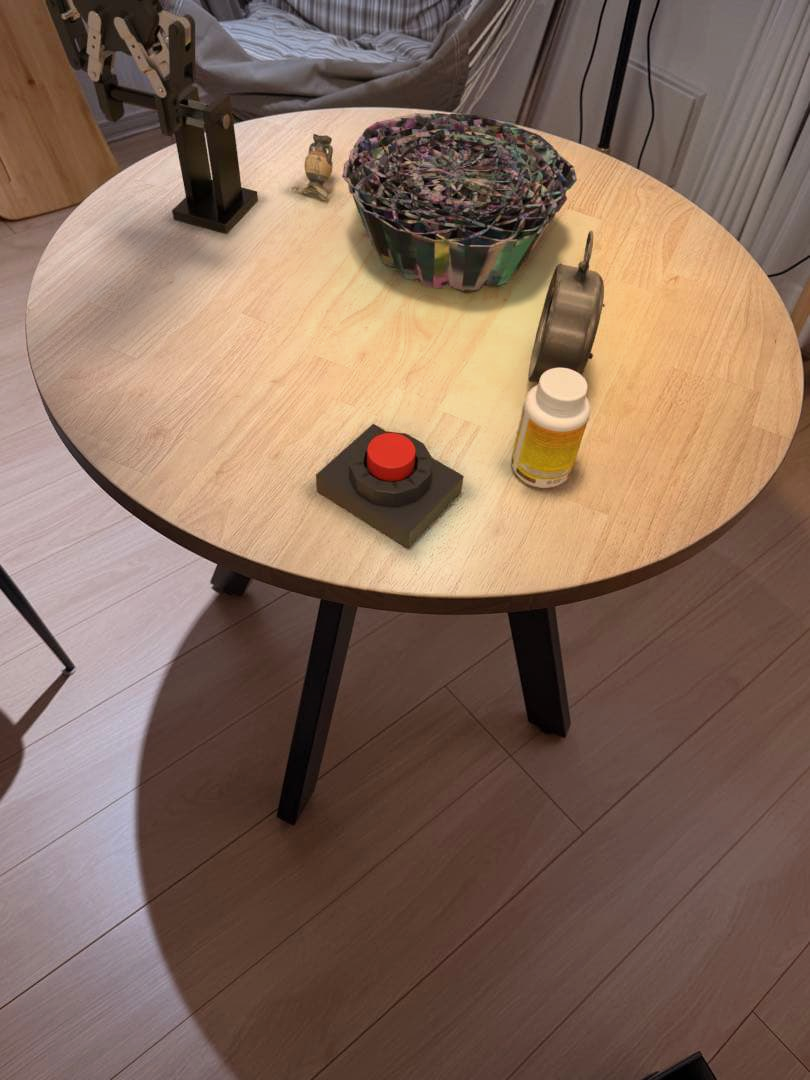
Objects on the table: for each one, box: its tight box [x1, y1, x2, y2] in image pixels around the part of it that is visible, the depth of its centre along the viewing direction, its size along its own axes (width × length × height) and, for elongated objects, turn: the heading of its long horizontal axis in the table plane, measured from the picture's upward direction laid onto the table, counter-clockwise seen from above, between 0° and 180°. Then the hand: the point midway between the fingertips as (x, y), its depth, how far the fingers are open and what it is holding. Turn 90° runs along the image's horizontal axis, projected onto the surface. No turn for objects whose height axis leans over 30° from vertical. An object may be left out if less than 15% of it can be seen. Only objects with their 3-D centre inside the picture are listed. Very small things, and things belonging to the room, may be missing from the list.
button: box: [367, 433, 416, 482], centre depth 66 cm, size 4×4×2 cm
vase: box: [290, 133, 334, 201], centre depth 96 cm, size 5×5×6 cm
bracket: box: [171, 85, 259, 235], centre depth 89 cm, size 8×7×13 cm
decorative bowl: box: [341, 112, 578, 294], centre depth 90 cm, size 26×28×10 cm
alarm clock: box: [527, 230, 606, 384], centre depth 73 cm, size 11×5×16 cm, turn 168°
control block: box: [315, 423, 465, 549], centre depth 68 cm, size 10×8×4 cm
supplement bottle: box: [511, 368, 591, 489], centre depth 68 cm, size 6×6×10 cm
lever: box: [108, 83, 210, 130], centre depth 81 cm, size 14×6×2 cm, turn 159°
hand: (143, 124), depth 77 cm, fingers closed on lever, 5 cm apart
